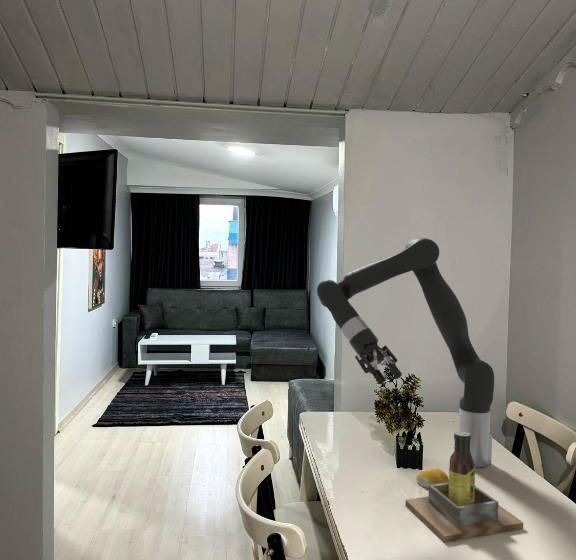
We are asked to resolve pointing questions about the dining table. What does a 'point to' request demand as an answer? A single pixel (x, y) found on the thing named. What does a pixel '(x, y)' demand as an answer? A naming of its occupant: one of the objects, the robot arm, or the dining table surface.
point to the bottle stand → (461, 515)
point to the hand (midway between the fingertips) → (391, 379)
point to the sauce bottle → (462, 471)
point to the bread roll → (431, 477)
